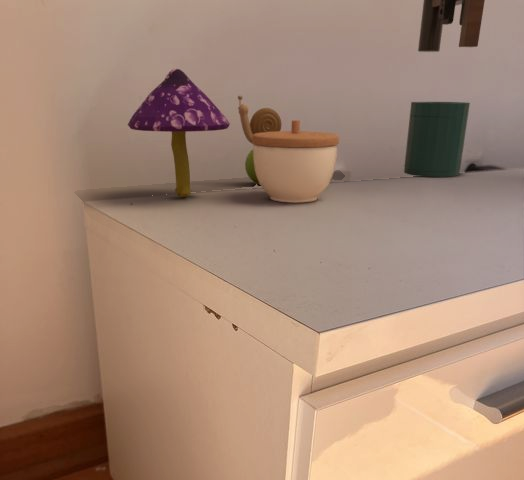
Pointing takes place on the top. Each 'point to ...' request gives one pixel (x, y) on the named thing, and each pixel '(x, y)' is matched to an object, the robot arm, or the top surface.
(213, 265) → the top surface
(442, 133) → the jar
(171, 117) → the decorative mushroom
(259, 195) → the top surface
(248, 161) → the snail figurine
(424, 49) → the brown wooden arch
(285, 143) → the trinket box
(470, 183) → the top surface
